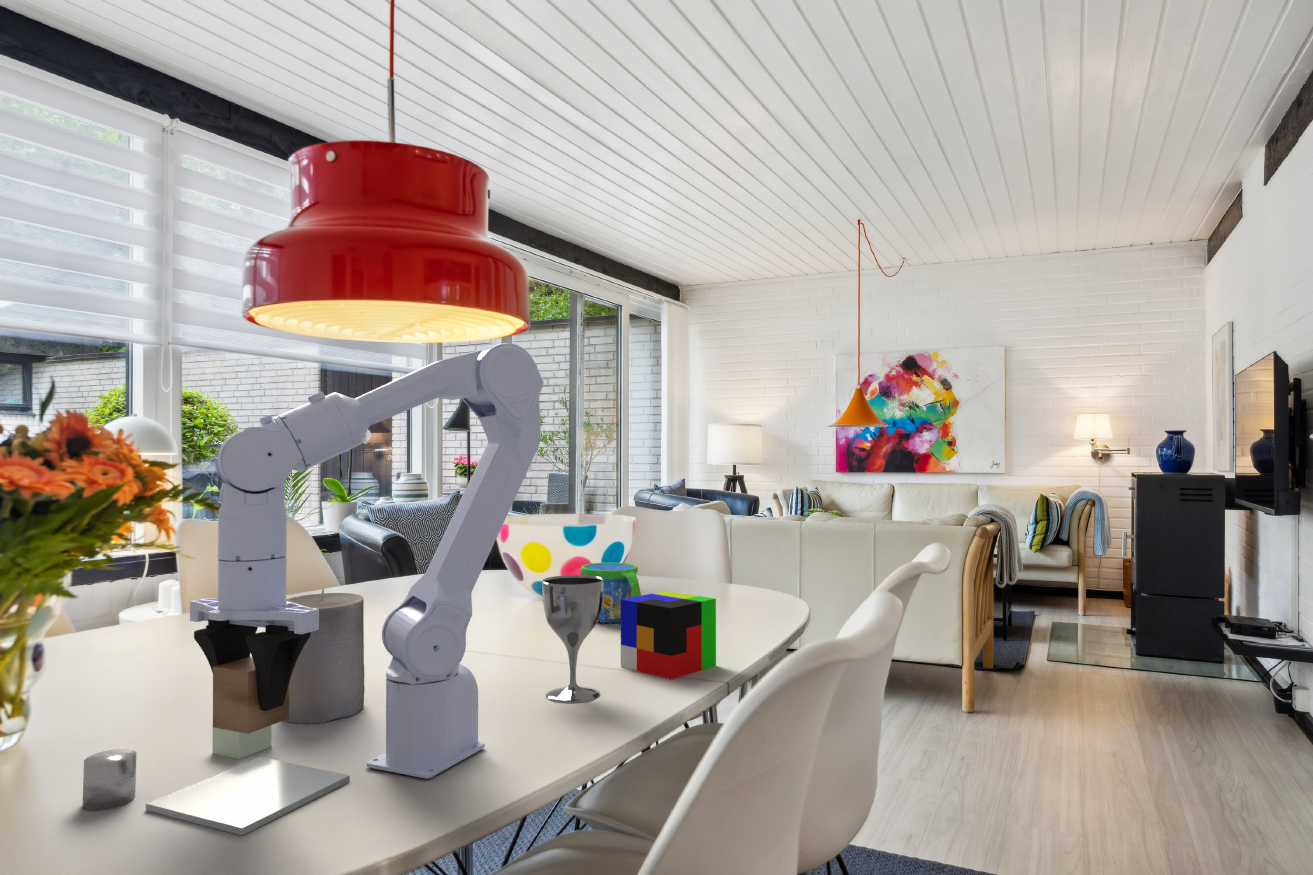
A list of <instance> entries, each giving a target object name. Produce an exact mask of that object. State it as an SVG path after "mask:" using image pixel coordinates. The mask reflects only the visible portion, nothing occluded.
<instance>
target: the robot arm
mask: <svg viewBox="0 0 1313 875" xmlns="http://www.w3.org/2000/svg"><path fill="white" fill-rule="evenodd" d="M543 387H544V379H543V378H542V376H541V372H540V371H539V369H538V367H537V365H536V363H535V360H534V358H533V356H532V355H531V354H530V353H529V352H528V351H527V350H526V349H525V348H523V347H522V346H520V345H518V344H515V343H512V342H511V343H510V342H503V343H499V344H496V345H493V347H490V348H489V349H485V350H482V349H480V350H476V351H472V352H468V353H464V354H460V355H455V356H452V357H448V358H444V359H441V360H437V361H435V362H432V363H430V364H426V365H425V366H423V367H421V368H418V369H416V370H414V371H412V372H409V373H407V374H406V375H404V376H402V377H399V378H396V379H393V380H391V381H390V382H388V383H386V384H383V385H381V386H380V387H377V388H375V389H373V390H370V391H368V392H366V393H364V394H362V395H360V396H358V397H355V398H354V397H350V396H347V395H344V394H341V393H338V392H332V393H330V394H327V395H325V394H324V392H323V391H319V392H316V393H313V394H312V395H309V396H308V397H307V400H308V403H306V404H303V405H301V406H299V407H298V406H297V407H296V408H293V409H290V410H289V411H287V412H286V411H285V412H284V413H282V414H279V415H277V416H274V417H272V414H267V415H263V416H261V417H260V418H259V423H260V424H261V426H248V427H246V428H244V429H243V430H241V431H238V432H235V433H234V434H231V435H230V436H229V437H227V439H225V440H224V441H223V443H222V444H221V446H219V447H220V448H219V449H218V452H217V457H216V458H215V460H214V466H215V469H216V472H217V474H218V475H219V477H220V478H221V480H222V481H223V482H221V487H220V489H219V501H220V503H221V505H220V508H219V509H218V512H217V513H218V515H217V516H218V518H217V521H218V522H217V526H218V527H217V528H218V529H217V533H218V534H217V538H218V539H217V540H218V541H217V542H218V543H217V546H218V547H217V559H218V560H217V561H218V563H217V568H218V570H217V572H218V573H217V580H218V581H217V584H218V585H217V588H218V589H217V597H216V598H215V597H214V598H212V597H206V598H201V599H196V600H190V602H189V621H190V622H194V623H198V622H199V623H200V622H204V621H205V622H207V625H206V626H205V627H204V628H201V629H197V630H195V631H194V632H193V639H194V641H195V642H196V644H198V646H199V647H200V649H201V651H202V652H203V654H204V656H205V658H206V660H207V662H208V664H209V666H210V670H211V672H212V674H213V667H214V666H218V665H221V664H225V663H229V662H232V661H236V660H240V659H243V658H247V657H251V656H252V658H253V661H254V665H255V670H256V677H257V693H258V701H259V706H260V709H261V710H262V711H268V710H271V709H274V708H277V707H280V706H282V705H284V701H285V697H286V693H287V689H288V685H289V682H290V678H291V675H292V672H293V669H294V666H295V664H296V661H297V659H298V657H299V655H300V653H301V651H302V649H303V647H304V646H305V644H306V642H307V641H308V639H309V637H310V636H311V632H312V631H316V630H319V609H315V608H309V607H305V606H302V605H298V604H295V603H292V602H289V601H286V599H287V532H288V531H287V530H288V529H287V523H288V522H287V521H288V519H287V507H286V506H285V482H286V480H287V479H288V477H289V476H290V475H291V472H292V470H293V471H296V472H299V473H303V472H304V471H306V470H308V469H311V468H313V467H315V466H317V465H319V464H321V463H324V462H326V461H328V460H331V459H332V458H334V457H337V456H339V455H341V454H343V453H346V452H347V451H350V450H352V449H354V448H356V447H359V446H360V445H362V444H363V441H364V439H365V436H366V433H367V431H368V429H369V427H371V426H373V425H376V424H377V423H380V422H382V421H385V420H387V419H390V418H392V417H395V416H397V415H399V414H402V413H404V412H406V411H409V410H412V409H415V408H416V407H418V406H421V405H424V404H427V403H428V402H431V401H433V400H436V399H443V400H449V401H454V400H462V401H463V402H464V404H465V405H466V406H467V407H468V408H469V409H470V411H472V413H473V414H475V416H476V417H477V419H478V420H479V422H480V425H481V426H482V430H483V432H484V434H485V436H486V438H487V444H486V446H485V448H484V450H483V453H482V455H481V457H480V459H479V461H478V463H477V464H476V468H475V469H474V471H473V473H472V476H471V477H470V480H469V482H468V483H467V486H466V488H465V490H464V492H463V494H462V496H461V498H460V500H459V502H458V505H457V507H456V509H455V511H454V512H453V515H452V516H451V519H450V521H449V524H448V525H447V528H446V530H445V531H444V534H443V536H442V537H441V540H440V542H439V545H438V547H437V549H436V550H435V552H434V553H433V554H434V555H433V557H432V558H431V561H430V562H429V565H428V567H427V569H426V571H425V573H424V574H423V575H422V576H421V577H420V578H419V579H418V580H416V582H415V583H414V584H413V585H412V586H411V587H410V589H409V591H408V592H407V595H406V596H405V598H404V600H403V601H402V602H401V603H400V604H399V605H398V606H397V607H395V608H394V609H392V610H391V612H390V613H389V614H388V616H387V617H386V618H385V620H384V622H383V625H382V627H381V628H382V630H381V640H382V644H383V647H384V648H385V650H386V651H387V652H388V654H389V655H391V656H392V659H391V662H390V664H389V666H388V667H387V669H386V672H385V677H386V678H385V679H386V683H385V687H386V688H385V693H386V695H385V752H384V753H382V754H380V755H378V756H376V757H373V758H372V759H370V760H368V761H366V767H367V768H370V769H375V770H380V771H386V772H391V773H394V774H395V773H396V774H400V775H406V776H410V777H411V776H412V777H416V778H421V779H431V778H434V777H435V776H436V775H437V776H438V774H440V773H441V772H444V771H446V770H448V769H449V768H451V767H453V766H454V765H456V764H459V762H461V761H463V760H465V759H466V758H469V757H471V756H472V755H473V754H476V753H477V752H479V751H481V750H482V749H485V747H486V745H485V742H483V741H479V687H478V684H477V680H476V677H475V676H474V674H473V672H472V671H471V670H470V669H469V668H468V667H466V666H465V665H463V664H461V662H462V660H463V658H464V655H465V654H466V652H465V651H466V649H467V648H466V647H467V630H468V626H469V624H470V621H471V619H472V618H473V604H472V603H473V601H472V593H473V590H474V589H475V586H476V583H477V582H478V579H479V577H480V575H481V573H482V570H483V568H484V566H485V563H486V562H487V560H488V557H489V555H490V553H491V551H492V549H493V547H494V544H495V543H496V540H497V539H498V536H499V533H500V532H501V529H502V528H503V525H504V523H505V521H506V518H507V516H508V514H509V511H510V510H511V507H512V506H513V504H514V501H515V499H516V497H517V495H518V492H519V490H520V488H521V486H522V485H523V484H522V483H523V482H524V480H525V478H526V475H527V473H528V471H529V469H530V467H531V464H532V462H533V460H534V458H535V456H536V454H537V451H538V450H539V447H540V443H541V441H542V440H541V439H542V436H541V435H542V434H541V433H542V432H541V408H540V407H541V406H540V397H541V396H540V395H541V392H542V390H543ZM259 628H264V629H265V630H264V631H260V632H257V631H258V630H259Z"/></svg>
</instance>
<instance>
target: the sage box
mask: <svg viewBox="0 0 1313 875" xmlns="http://www.w3.org/2000/svg"><path fill="white" fill-rule="evenodd" d="M272 726H273V725H271V726H268V727H265V728H262V729H260V730H257V731H254V732H252V733H249V734H246V733H240V732H235V731H230V730H225V729H219V728H214V727H213V726H212V754H214V755H219V756H223V757H229V758H233V759H238V760H240V759H243V758H245V757H248V756H250V755H253V754H256V753H258V752H260V751H264V750H265V749H268V748H270V747H272V745H273V744H272V743H273V742H272V730H273V729H272Z"/></svg>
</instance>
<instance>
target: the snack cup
mask: <svg viewBox="0 0 1313 875" xmlns="http://www.w3.org/2000/svg"><path fill="white" fill-rule="evenodd" d="M638 572H639V570H638V567H637V566H636V565H635V564H633V563H625V562H624V563H623V562H595V563H594V562H593V563H588V564H584V565H582V566H581V568H580V575H588V576H596V577H600V578H603V601H602V608H601V613H600V617H599V620H598V622H597V623H603V624H605V623H608V624H617V623H621V599H625V598H631V597H636V596H641V595H642V593H641V587H640V583H639V579H638V576H637V574H638Z"/></svg>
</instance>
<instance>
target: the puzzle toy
mask: <svg viewBox="0 0 1313 875" xmlns="http://www.w3.org/2000/svg"><path fill="white" fill-rule="evenodd" d="M716 666H717V598H713V597H709V596H708V597H707V596H701V595H696V594H689V593H682V592H675V591H670V590H669V591H668V590H664V591H658V592H653V593H647V594H641V596H636V597H631V598H625V599H621V622H620V667H621V668H624V669H628V670H632V671H636V672H641V673H643V674H647V675H651V676H655V677H659V678H664V679H668V680H675V679H677V678H681V677H684V676H688V675H690V674H694V673H696V672H700V671H703V670H704V671H705V670H707V669H710V668H713V667H716Z"/></svg>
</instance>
